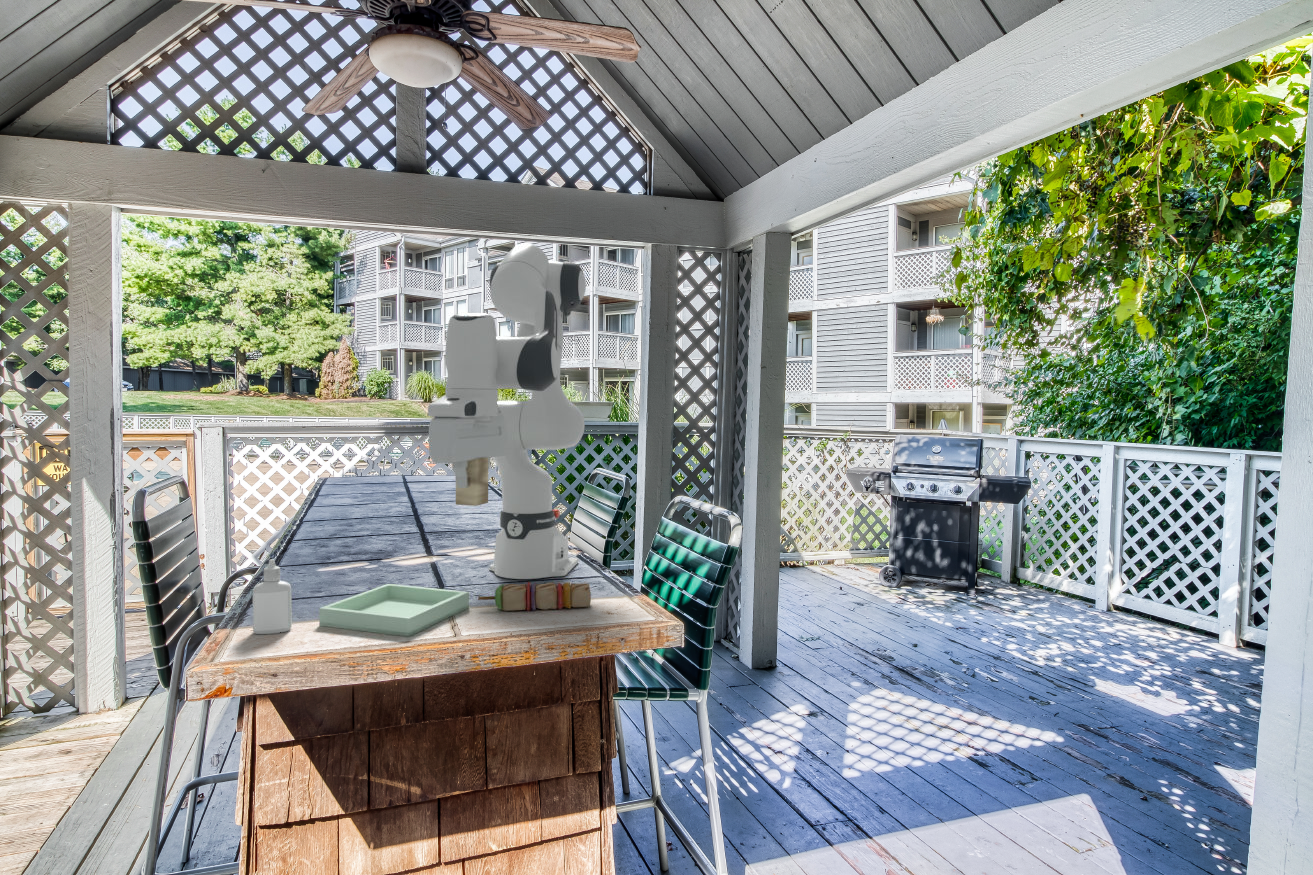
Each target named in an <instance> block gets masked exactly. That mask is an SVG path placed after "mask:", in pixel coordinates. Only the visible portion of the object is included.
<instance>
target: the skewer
mask: <svg viewBox="0 0 1313 875" xmlns="http://www.w3.org/2000/svg"><path fill="white" fill-rule="evenodd" d="M591 593H592V592H591V587H590V583H589V582H582V583H581V582H579V583H573V582H564V583H561V582H559V583H557V584H556V583H555V582H546V583H538V584H536V583H533V582H532V583H531V582H530V581H528V582H526V583H523V584H517V583H516V584H513V583H509V584H500V585H499V586H498V587H496V589H495V593H494V595H493V596H489V595H487V596H486V595H485V596H477V598H478V599H477V600H478V601H489V600H494V601H495V605H496V607H497V608H498V610H503V611H521V610H522V611H524V610H527V611H528V612H529V611H530V610H532V611H535V610H536V608H537V609H541V610H550V609H553V610H554V609H555V610H556V609H559V610H562V609H563V608H567V609H571V607H572V608H588V607H591V601H592V598H591V597H592V594H591Z"/></svg>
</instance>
